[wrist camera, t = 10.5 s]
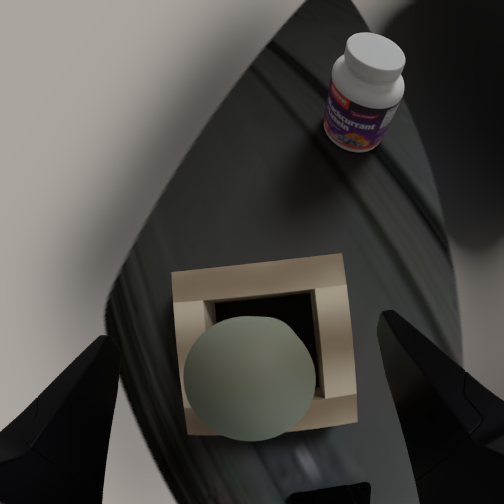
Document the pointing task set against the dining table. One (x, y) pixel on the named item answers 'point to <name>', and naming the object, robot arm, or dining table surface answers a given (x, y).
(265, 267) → the holder
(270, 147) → the dining table surface
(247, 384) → the peg
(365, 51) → the pill bottle
